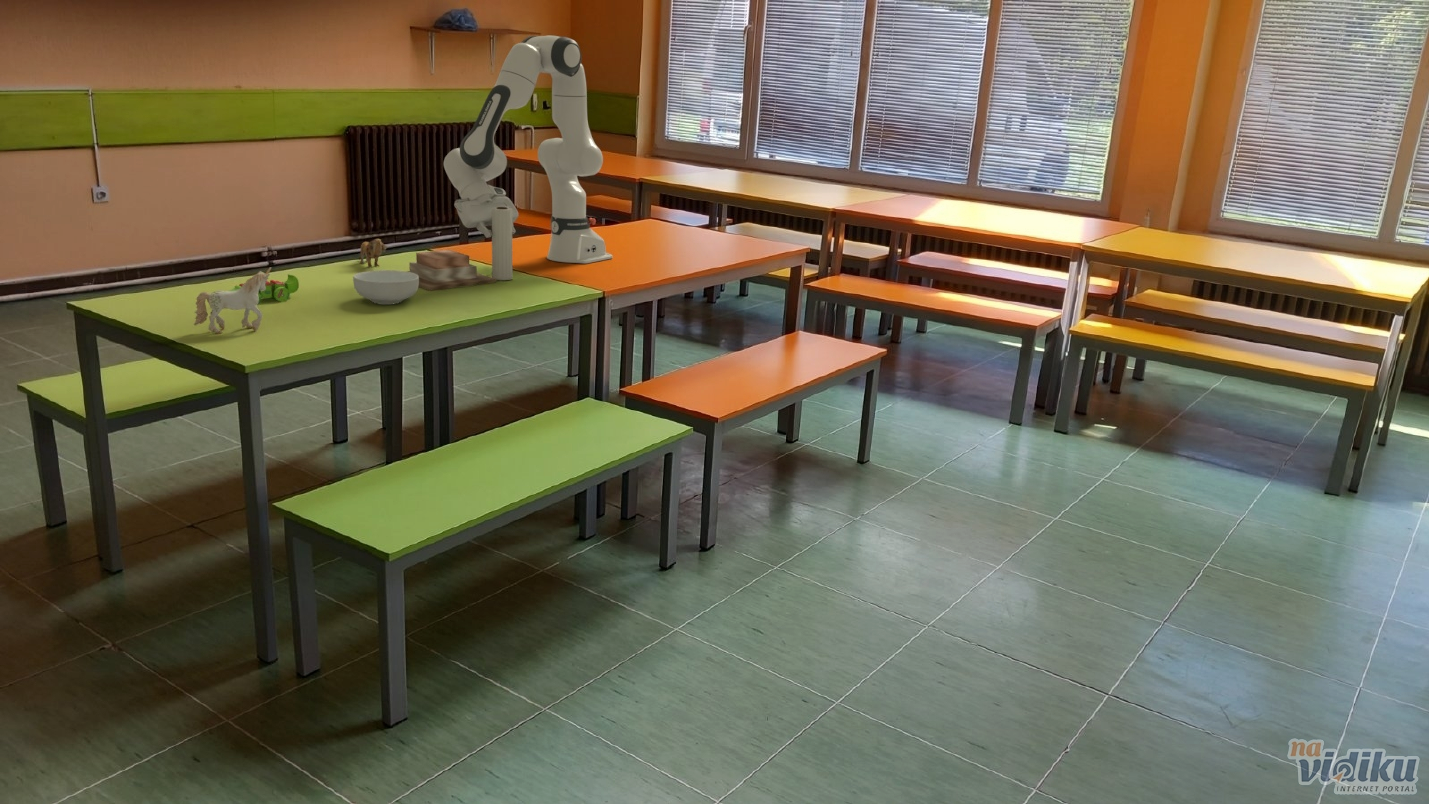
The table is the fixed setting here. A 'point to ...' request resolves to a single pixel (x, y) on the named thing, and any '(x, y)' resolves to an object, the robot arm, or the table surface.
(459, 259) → the brown square stepped pedestal
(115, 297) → the table surface
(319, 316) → the table surface
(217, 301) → the unicorn figurine
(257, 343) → the table surface
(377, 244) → the lion figurine
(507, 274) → the paper towel roll
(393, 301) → the cereal bowl
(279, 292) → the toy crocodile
